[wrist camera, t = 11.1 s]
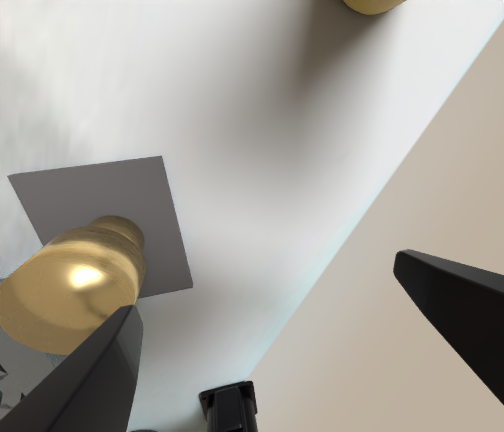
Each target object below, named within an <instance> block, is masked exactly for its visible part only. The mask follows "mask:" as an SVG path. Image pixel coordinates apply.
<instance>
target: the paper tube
mask: <svg viewBox="0 0 504 432" xmlns="http://www.w3.org/2000/svg"><path fill="white" fill-rule="evenodd" d="M343 1H344V2H345V3H346V4H347V5H348V6H349V7H350V8H352V9H353V10H355V11H357V12H359V13H362V14H368V15H374V14H379V13H383V12H386V11H388V10H390V9H392V8H394V7H395V6H397V5H399V4H401V3H402V2H404V1H406V0H343Z"/></svg>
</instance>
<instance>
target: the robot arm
mask: <svg viewBox="0 0 504 432" xmlns="http://www.w3.org/2000/svg"><path fill="white" fill-rule="evenodd" d="M393 273H394V275H395V277H396V279H397V280H398V281H399V283H400V284H401V285H402V287H403V288H404V289H405V291H406V292H407V294H408V295H409V296H410V297H411V299H412V300H413V302H414V303H415V304H416V306H417V307H418V308H419V310H420V311H421V312H422V313H423V315H424V316H425V317H426V318H427V319H428V321H430V323H431V324H432V325H433V326H434V327H435V328H436V329H437V331H438V332H439V333H440V334H441V335H442V336H443V337H444V339H445V340H446V341H447V342H448V343H449V344H450V345H451V346H452V348H453V349H454V350H455V351H456V352H457V353H458V354H459V355H460V357H461V358H462V359H463V360H464V361H465V362H466V363H467V365H468V366H469V367H470V368H471V369H472V370H473V371H474V372H475V374H477V376H478V377H479V378H480V379H481V380H482V381H483V383H484V384H485V385H486V386H487V387H488V388H489V389H490V390H491V392H492V393H493V394H494V395H495V396H496V397H497V398H498V399H499V401H500V402H501V403H502V404H503V405H504V275H501V274H497V273H493V272H490V271H487V270H483V269H479V268H476V267H472V266H468V265H465V264H461V263H458V262H454V261H450V260H447V259H443V258H439V257H436V256H432V255H428V254H425V253H421V252H417V251H414V250H410V249H407V250H403V251H399V252H397V254H396V257H395V263H394V268H393ZM142 337H143V324H142V321H141V318H140V316H139V313H138V310H137V308H136V306H135V305H127V306H122V307H120V308H118V309H117V310H116V311H115V312H114V313H113V314H112V315H111V316H110V317H109V318H108V319H107V320H105V321H104V322H103V323H102V324H101V325H100V326H99V327H98V328H97V329H96V330H95V331H94V332H93V333H92V334H91V335H90V336H89V337H87V338H86V339H85V340H84V341H83V342H82V343H81V344H80V345H79V346H78V347H77V348H76V349H75V350H74V351H73V352H72V353H71V354H69V355H68V356H67V357H66V358H65V359H64V360H63V361H62V362H61V363H60V364H59V365H58V366H57V367H56V368H55V369H54V370H53V371H52V372H50V373H49V374H48V375H47V376H46V377H45V378H44V379H43V380H42V381H41V382H40V383H39V384H38V385H37V386H36V387H35V388H34V389H32V390H31V391H30V392H29V393H28V394H27V395H26V396H25V397H24V398H23V399H22V400H21V401H20V402H19V403H18V404H17V405H16V406H14V407H13V408H12V409H11V410H10V411H9V412H8V413H7V414H6V415H5V416H4V417H3V418H2V419H1V420H0V432H126V430H127V425H128V421H129V417H130V412H131V408H132V403H133V399H134V394H135V390H136V385H137V378H138V371H139V362H140V354H141V345H142ZM200 401H201V404H202V408H203V411H204V414H205V418H206V421H207V432H258V429H257V423H256V418H255V414H257V406H256V399H255V392H254V386H253V382H252V381H246V382H242V383H238V384H235V385H231V386H227V387H223V388H219V389H215V390H211V391H207V392H203V393H201V394H200Z"/></svg>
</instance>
